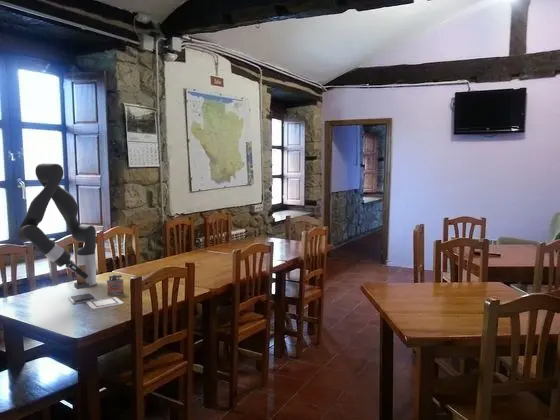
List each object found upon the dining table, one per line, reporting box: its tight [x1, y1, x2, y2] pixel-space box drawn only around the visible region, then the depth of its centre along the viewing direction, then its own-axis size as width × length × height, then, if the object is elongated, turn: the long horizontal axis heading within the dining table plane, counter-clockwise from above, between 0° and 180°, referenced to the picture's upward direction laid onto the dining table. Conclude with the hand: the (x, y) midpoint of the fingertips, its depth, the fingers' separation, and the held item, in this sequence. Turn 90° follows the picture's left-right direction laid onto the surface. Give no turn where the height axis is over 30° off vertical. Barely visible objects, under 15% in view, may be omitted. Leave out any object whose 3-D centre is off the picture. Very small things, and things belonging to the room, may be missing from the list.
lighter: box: [106, 274, 125, 296], centre depth 233 cm, size 8×3×10 cm, turn 106°
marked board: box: [85, 296, 124, 310], centre depth 218 cm, size 12×14×1 cm
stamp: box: [73, 264, 90, 290], centre depth 223 cm, size 6×6×11 cm
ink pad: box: [67, 293, 98, 305], centre depth 224 cm, size 11×11×1 cm
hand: (85, 276), depth 224 cm, fingers closed on stamp, 4 cm apart
